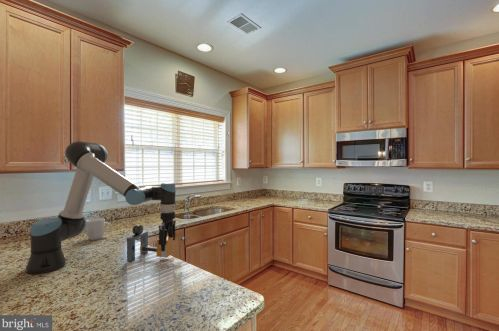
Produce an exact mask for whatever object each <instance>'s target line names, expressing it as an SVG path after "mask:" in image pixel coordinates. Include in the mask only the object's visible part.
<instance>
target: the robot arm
mask: <svg viewBox="0 0 499 331" xmlns="http://www.w3.org/2000/svg"><path fill="white" fill-rule="evenodd" d="M64 155H65V158H66V160H67V161H68V162H69V163H70V164H71V165H73V166H74V167H76V170H75V174H74V177H73V179H72V182H71V186H70V188H69V189H70V190H69V192H68V195H67V200H66V201H65V202H66V203H65V204H64V208H63V210H61V211H59V213H58V215H57V217H48V218H43V219H40V220H37V221H35V222H33V223H32V224H31V226H30V255H29V257H28V258H29V259H28V261H27V264H26V265H25V273H26V274H29V275H38V274H40V275H41V274H45V273H46V274H47V273H50V272H54V271H56V270H57V271H58V270H60V269H61V268H63V267H65V266H66V264H67V263H66V262H67V261H66V257H65V255H64V252H63V250H62V242H63V241H66V240H69V239H71V238H74V237H77V236H78V235H80V234H82V232H84V231H85V229H86V221H87V220H86V218H85V216H86V215H85V213H84V209H85V205H86V202H87V200H88V199H87V198H88V196H89V193H90V190H91V186H92V182H93V179H94V177H95V178H96V179H98V180H99V181H100V182H102V183H103V184H105V185H107V186H108V187H109V188H111V189H113V190H114V191H115V192H117V193H118V194H119V195H122V196H123V197H124V198H125V201H126V203H127V204H129V205H131V206H138V205H141V204H144V203H147V202H150V201H160V210H159V211H160V217H159V218H160V220H161V221H162V222H161V225H158V229H159V230H158V239H159V245H161V257H160V258H166V257H167V244H166V240H167V237H173V241H175V240H176V221H177V220H175V218H176V212H175V211H176V192H177V191H176V184H175V183H174V182H161V183H160V186H157V185H156V186H151V185H150V186H148V185H141V186H138V185H137V184H136V183H134V182H133V181H132V180H129V179H128V178H127V177H125V176H123V175H122V174H120V173H119V172H118V171H116V170H115V169H113V168H112V167H110V166H109V165H107V164H106V163H105V162H106V161H107V160H108V151H107V149H106V148H105V146H103V145H102V144H99V143H97V142H88V141H81V140H80V141H79V140H78V141H73V142H71V143H69V144H68V145H67V146H66V148H65V150H64ZM167 258H168V257H167Z"/></svg>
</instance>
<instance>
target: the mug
mask: <svg viewBox="0 0 499 331" xmlns="http://www.w3.org/2000/svg"><path fill="white" fill-rule="evenodd" d="M85 221H86V227H85V229H86V230H85V232H86V236H87V238H88V239H89V241H98V240H102V238H103V237H104V236H105V235H107V234H109V233H110V232H111V231H112V225H111V223H110V222H107V221H106V219H105V218H103V217H100V218H99V217H98V218H90V219H87V220H85ZM106 225H108V226H109V230H108V231H107V232H105V229H106Z"/></svg>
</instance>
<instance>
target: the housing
mask: <svg viewBox="0 0 499 331" xmlns="http://www.w3.org/2000/svg"><path fill="white" fill-rule="evenodd" d="M137 239H140V246H142V245H145V246H148V247H149V231H148V230H144V227H143V225H142V224H135V225H134V226H133V227H132V235H130V236H128V237H127V238H126V262H128V263H133V262H135V261H136V240H137ZM139 252H140V251H139ZM148 252H149V251H142V252H140V255H146V254H148ZM132 261H133V262H132Z"/></svg>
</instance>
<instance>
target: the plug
mask: <svg viewBox="0 0 499 331" xmlns="http://www.w3.org/2000/svg"><path fill="white" fill-rule="evenodd" d="M166 244H167V257H165V258H168V257H170V256H171V255H173V252H174V240H173V237H168V236H167V240H166ZM142 251H148V252H152V253H153V252H154V253H156V257H157V258H162V257H161V245H159V238H157V239H156V246H149V245H148V246H145V245H142V246H141V245H140V246H139V252H142Z"/></svg>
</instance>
